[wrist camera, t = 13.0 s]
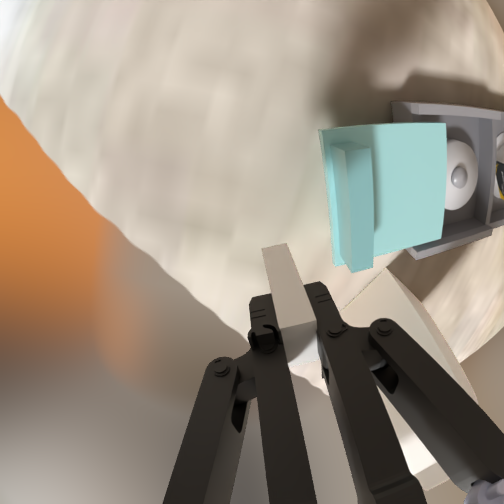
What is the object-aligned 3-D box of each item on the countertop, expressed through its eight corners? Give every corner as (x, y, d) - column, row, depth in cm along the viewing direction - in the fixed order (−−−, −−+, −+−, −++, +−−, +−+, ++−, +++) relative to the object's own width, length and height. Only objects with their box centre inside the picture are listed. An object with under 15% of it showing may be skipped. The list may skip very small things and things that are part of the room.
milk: (385, 267, 31) (499, 448, 9) (421, 302, 35) (505, 439, 13) (321, 328, 35) (378, 512, 13) (365, 351, 39) (420, 492, 17)
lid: (318, 129, 19) (335, 134, 16) (440, 122, 19) (467, 128, 15) (332, 262, 25) (346, 285, 22) (436, 235, 25) (457, 252, 22)
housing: (390, 101, 21) (418, 103, 17) (520, 114, 20) (541, 121, 16) (395, 239, 29) (416, 260, 25) (515, 207, 28) (533, 219, 24)
